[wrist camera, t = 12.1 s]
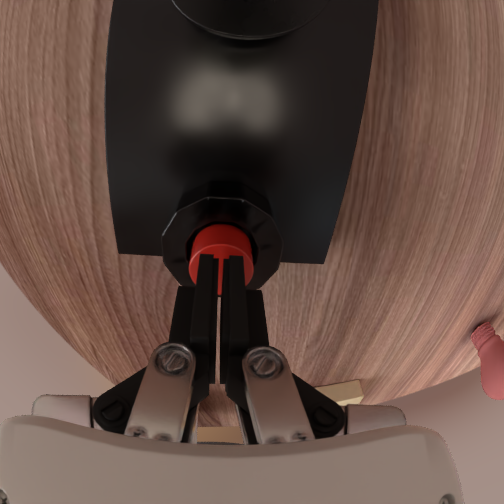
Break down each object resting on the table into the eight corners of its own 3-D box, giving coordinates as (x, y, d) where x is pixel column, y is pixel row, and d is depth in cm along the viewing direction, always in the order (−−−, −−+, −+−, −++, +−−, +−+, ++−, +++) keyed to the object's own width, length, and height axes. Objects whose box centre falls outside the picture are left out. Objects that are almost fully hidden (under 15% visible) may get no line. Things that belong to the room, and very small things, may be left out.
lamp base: (311, 258, 19) (326, 299, 15) (131, 248, 17) (112, 289, 14) (363, -29, 8) (398, -49, 5) (141, -50, 6) (117, -77, 3)
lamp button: (248, 272, 14) (250, 296, 13) (193, 270, 14) (189, 293, 13) (254, 224, 13) (257, 246, 11) (192, 221, 12) (187, 242, 11)
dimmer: (262, 416, 34) (263, 433, 32) (262, 393, 30) (264, 413, 27) (344, 404, 35) (348, 420, 33) (358, 379, 30) (364, 396, 28)
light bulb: (481, 337, 30) (512, 397, 20) (451, 349, 30) (483, 417, 20) (502, 304, 26) (542, 367, 16) (473, 315, 26) (515, 389, 16)
